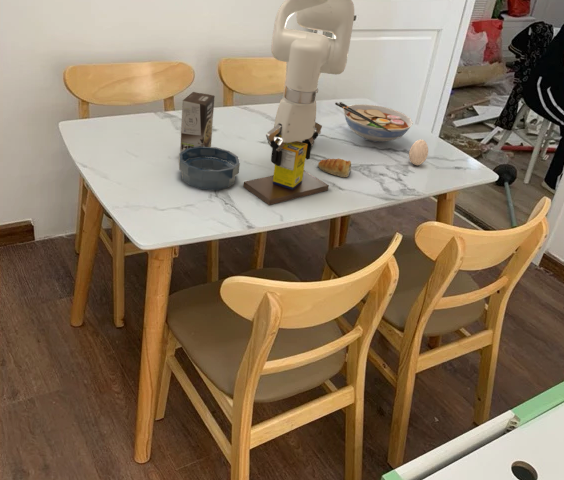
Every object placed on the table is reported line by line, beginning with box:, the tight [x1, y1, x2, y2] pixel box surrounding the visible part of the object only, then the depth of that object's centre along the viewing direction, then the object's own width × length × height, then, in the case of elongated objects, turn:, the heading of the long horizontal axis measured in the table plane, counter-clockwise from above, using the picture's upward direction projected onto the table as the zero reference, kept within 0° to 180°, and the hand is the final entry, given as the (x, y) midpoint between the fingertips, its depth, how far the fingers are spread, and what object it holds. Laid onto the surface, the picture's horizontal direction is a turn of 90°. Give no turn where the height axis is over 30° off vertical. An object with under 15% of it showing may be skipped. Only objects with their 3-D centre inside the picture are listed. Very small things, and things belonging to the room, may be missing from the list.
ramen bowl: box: [334, 101, 414, 143], centre depth 197 cm, size 25×23×8 cm
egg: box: [408, 139, 429, 166], centre depth 182 cm, size 6×6×8 cm
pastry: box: [317, 158, 352, 178], centre depth 171 cm, size 9×7×4 cm
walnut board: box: [242, 169, 330, 206], centre depth 158 cm, size 20×11×2 cm, turn 129°
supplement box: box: [273, 141, 308, 190], centre depth 155 cm, size 6×6×11 cm
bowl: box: [178, 146, 241, 191], centre depth 156 cm, size 15×15×6 cm
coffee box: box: [179, 91, 216, 159], centre depth 165 cm, size 9×6×16 cm
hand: (290, 160), depth 155 cm, fingers open, 9 cm apart
